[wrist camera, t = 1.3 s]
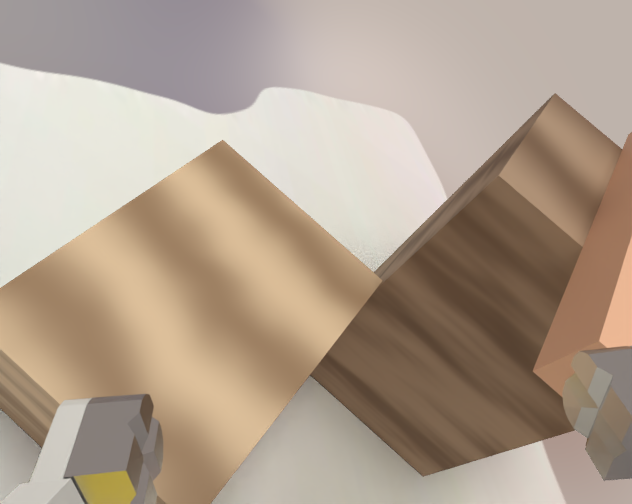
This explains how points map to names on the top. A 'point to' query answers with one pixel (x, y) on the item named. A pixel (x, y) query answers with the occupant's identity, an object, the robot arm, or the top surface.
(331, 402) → the top surface
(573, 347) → the long slim case
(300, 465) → the top surface
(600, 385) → the robot arm
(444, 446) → the brown wooden stepped block
